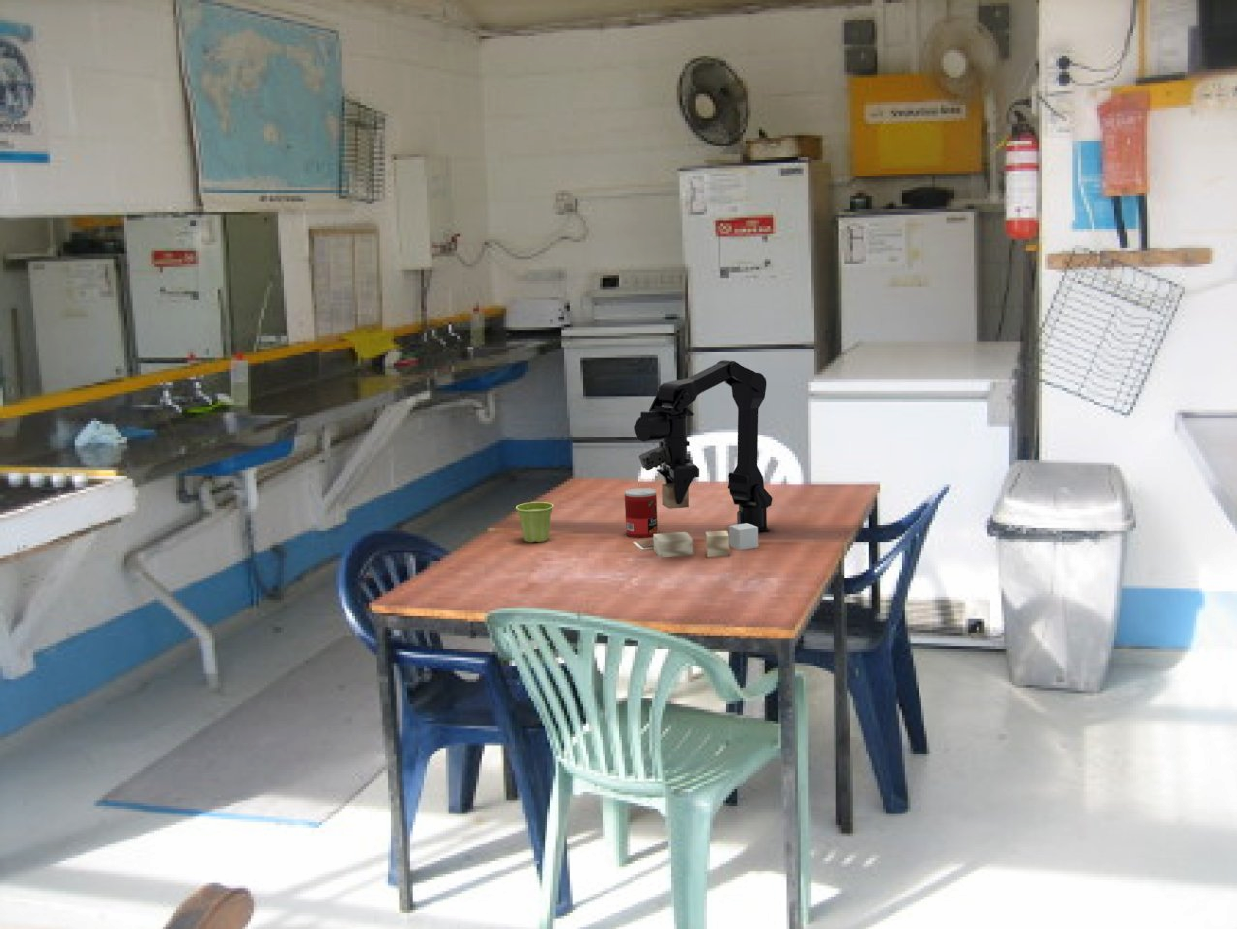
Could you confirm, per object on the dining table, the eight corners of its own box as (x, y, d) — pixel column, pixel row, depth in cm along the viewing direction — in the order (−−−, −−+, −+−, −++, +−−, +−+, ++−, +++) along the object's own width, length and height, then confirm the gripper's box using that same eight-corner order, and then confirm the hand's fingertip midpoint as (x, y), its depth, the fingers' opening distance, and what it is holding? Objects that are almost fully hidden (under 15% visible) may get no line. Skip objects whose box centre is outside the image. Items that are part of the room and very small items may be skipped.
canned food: (655, 538, 329) (653, 494, 327) (623, 537, 330) (621, 494, 328) (660, 530, 336) (658, 488, 334) (629, 530, 338) (627, 488, 336)
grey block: (747, 543, 320) (747, 523, 319) (758, 547, 316) (757, 527, 315) (729, 546, 318) (729, 525, 317) (740, 550, 314) (739, 530, 313)
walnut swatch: (661, 540, 326) (661, 538, 326) (670, 547, 319) (670, 544, 319) (633, 543, 324) (633, 541, 324) (641, 550, 317) (641, 547, 317)
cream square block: (686, 547, 319) (686, 531, 318) (693, 556, 311) (692, 539, 311) (653, 550, 318) (653, 534, 317) (659, 558, 310) (659, 541, 309)
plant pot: (563, 538, 332) (561, 504, 330) (535, 546, 325) (533, 512, 323) (537, 533, 338) (535, 500, 336) (509, 541, 331) (508, 507, 330)
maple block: (727, 551, 314) (726, 530, 313) (729, 556, 309) (728, 535, 308) (706, 552, 314) (705, 531, 313) (707, 557, 309) (707, 536, 308)
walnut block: (682, 503, 317) (682, 482, 316) (688, 507, 312) (688, 486, 312) (662, 504, 316) (662, 484, 315) (668, 508, 311) (668, 487, 310)
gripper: (631, 433, 318) (632, 496, 321) (652, 444, 301) (653, 511, 303) (675, 430, 321) (676, 493, 324) (699, 441, 303) (700, 508, 306)
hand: (675, 501), depth 314 cm, fingers closed on walnut block, 5 cm apart
